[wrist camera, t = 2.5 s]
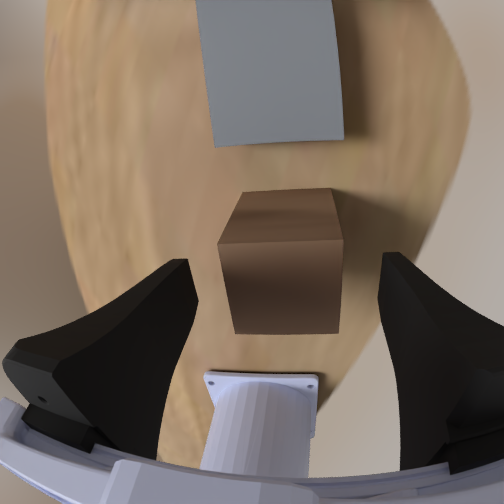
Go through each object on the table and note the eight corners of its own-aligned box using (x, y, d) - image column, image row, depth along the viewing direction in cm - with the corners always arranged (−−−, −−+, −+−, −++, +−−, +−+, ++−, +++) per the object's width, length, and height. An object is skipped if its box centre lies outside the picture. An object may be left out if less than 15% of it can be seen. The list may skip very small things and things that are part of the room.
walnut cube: (330, 263, 16) (338, 333, 11) (252, 265, 16) (235, 334, 12) (330, 187, 14) (343, 239, 10) (242, 191, 15) (217, 244, 10)
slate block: (337, 132, 13) (344, 139, 11) (225, 138, 14) (214, 147, 12) (322, -16, 9) (326, -30, 8) (207, -4, 10) (193, -16, 9)
